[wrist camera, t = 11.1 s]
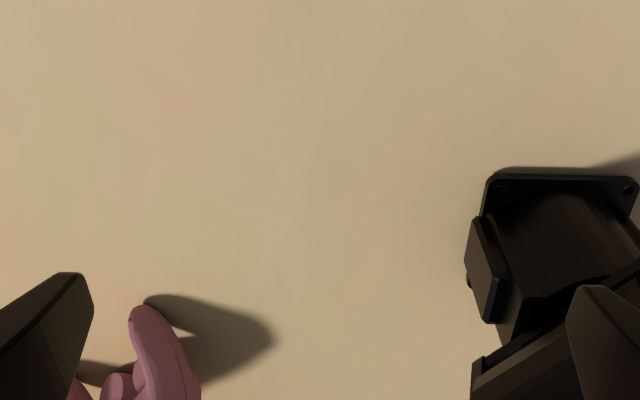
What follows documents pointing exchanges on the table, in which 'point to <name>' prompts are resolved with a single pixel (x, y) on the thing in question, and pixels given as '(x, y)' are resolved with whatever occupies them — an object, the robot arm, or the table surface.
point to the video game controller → (149, 365)
